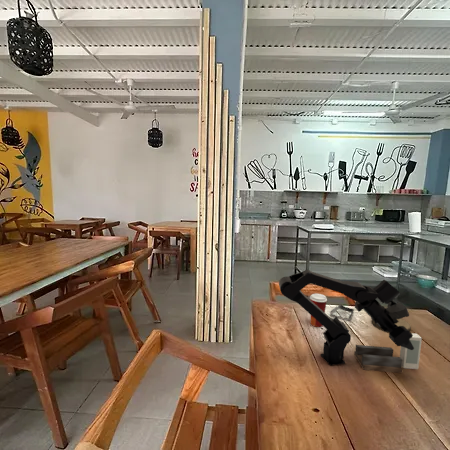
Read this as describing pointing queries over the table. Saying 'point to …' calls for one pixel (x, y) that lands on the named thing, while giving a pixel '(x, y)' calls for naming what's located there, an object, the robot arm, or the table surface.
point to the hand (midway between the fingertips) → (405, 341)
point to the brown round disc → (400, 323)
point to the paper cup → (321, 303)
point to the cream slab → (411, 353)
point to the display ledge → (378, 358)
